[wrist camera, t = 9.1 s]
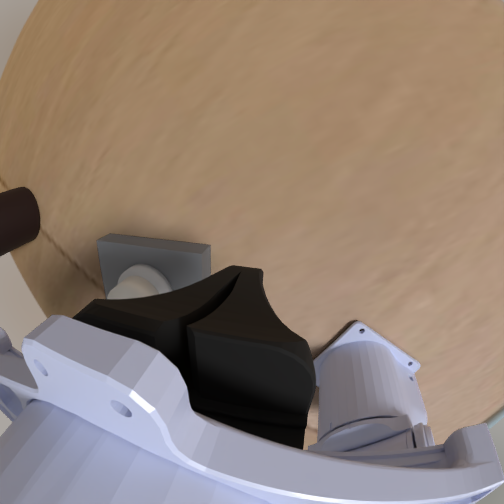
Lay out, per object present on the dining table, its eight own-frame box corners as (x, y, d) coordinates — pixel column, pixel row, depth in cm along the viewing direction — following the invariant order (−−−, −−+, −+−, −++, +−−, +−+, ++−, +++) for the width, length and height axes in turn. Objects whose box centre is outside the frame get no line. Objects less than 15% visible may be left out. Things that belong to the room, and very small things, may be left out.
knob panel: (216, 415, 30) (209, 433, 27) (143, 395, 32) (134, 410, 29) (210, 244, 22) (196, 259, 19) (109, 233, 24) (89, 244, 21)
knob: (164, 323, 22) (153, 337, 20) (124, 313, 22) (112, 325, 20) (159, 280, 20) (146, 292, 18) (117, 272, 21) (103, 283, 19)
